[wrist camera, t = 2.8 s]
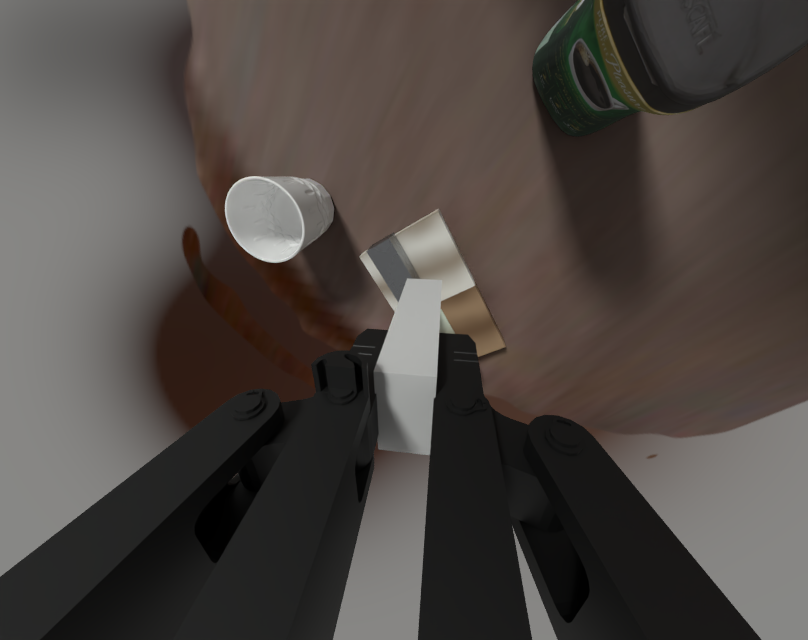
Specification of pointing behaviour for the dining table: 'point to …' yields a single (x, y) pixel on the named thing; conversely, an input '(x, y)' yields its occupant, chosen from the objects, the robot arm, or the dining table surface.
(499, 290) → the dining table surface
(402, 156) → the dining table surface
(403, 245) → the door board
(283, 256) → the white cup
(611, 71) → the coffee jar
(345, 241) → the dining table surface
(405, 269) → the latch bar
